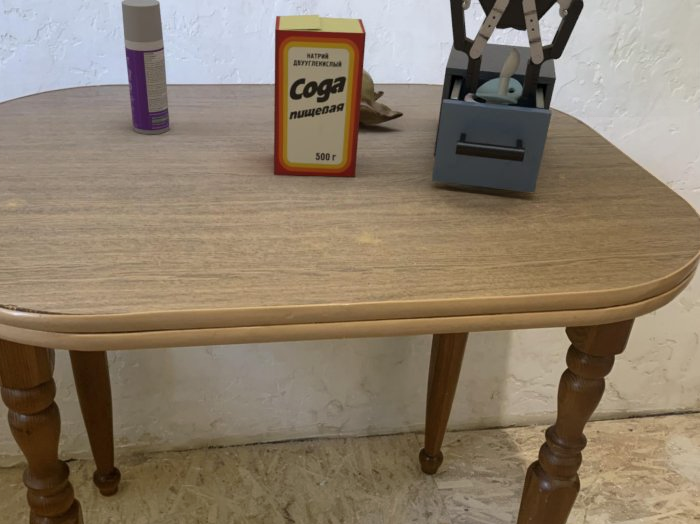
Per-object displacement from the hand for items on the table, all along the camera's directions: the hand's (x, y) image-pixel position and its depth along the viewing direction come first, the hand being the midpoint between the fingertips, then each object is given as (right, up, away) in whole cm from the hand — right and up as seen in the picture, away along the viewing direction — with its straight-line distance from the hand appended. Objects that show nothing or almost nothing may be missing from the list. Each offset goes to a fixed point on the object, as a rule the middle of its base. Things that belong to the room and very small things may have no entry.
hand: (499, 93), depth 86 cm
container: (-42, +1, +15) cm, 44 cm away
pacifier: (-1, -1, +1) cm, 2 cm away
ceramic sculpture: (-17, +4, +20) cm, 27 cm away
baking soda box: (-21, -6, +7) cm, 23 cm away
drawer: (-1, -8, +4) cm, 9 cm away
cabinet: (+2, -1, +15) cm, 15 cm away
